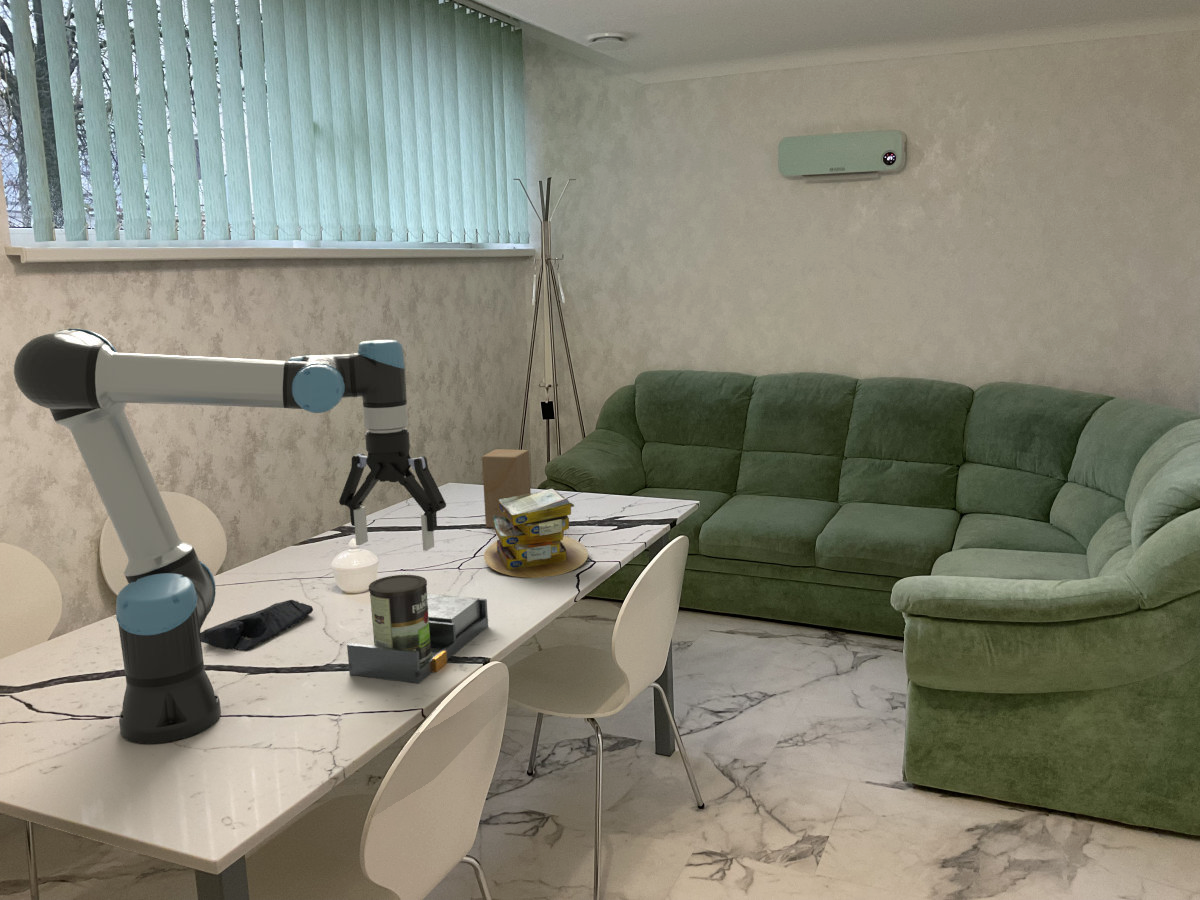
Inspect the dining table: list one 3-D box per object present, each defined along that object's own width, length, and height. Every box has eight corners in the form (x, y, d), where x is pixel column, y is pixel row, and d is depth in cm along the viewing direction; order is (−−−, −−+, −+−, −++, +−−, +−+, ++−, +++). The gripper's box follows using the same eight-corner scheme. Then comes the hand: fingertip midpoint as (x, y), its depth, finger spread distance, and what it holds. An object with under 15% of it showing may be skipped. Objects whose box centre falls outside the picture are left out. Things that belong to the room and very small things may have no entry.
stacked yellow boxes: (594, 573, 232) (592, 503, 229) (487, 581, 228) (483, 510, 225) (579, 543, 256) (577, 479, 252) (482, 551, 252) (478, 486, 249)
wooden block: (485, 527, 273) (481, 456, 269) (499, 518, 283) (495, 448, 279) (519, 529, 270) (515, 457, 266) (532, 519, 280) (529, 449, 276)
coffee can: (440, 646, 187) (435, 574, 185) (419, 669, 177) (413, 593, 175) (388, 644, 189) (382, 573, 187) (365, 666, 180) (358, 591, 177)
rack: (422, 683, 175) (419, 650, 173) (349, 674, 179) (346, 642, 178) (491, 626, 200) (489, 596, 199) (426, 619, 205) (424, 591, 204)
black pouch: (326, 618, 210) (324, 596, 209) (241, 656, 191) (239, 632, 190) (274, 607, 217) (272, 586, 216) (188, 643, 198) (185, 620, 197)
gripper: (460, 427, 175) (467, 544, 179) (337, 423, 183) (346, 535, 187) (440, 435, 168) (447, 556, 172) (313, 430, 176) (323, 546, 180)
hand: (395, 546), depth 179 cm, fingers open, 13 cm apart
